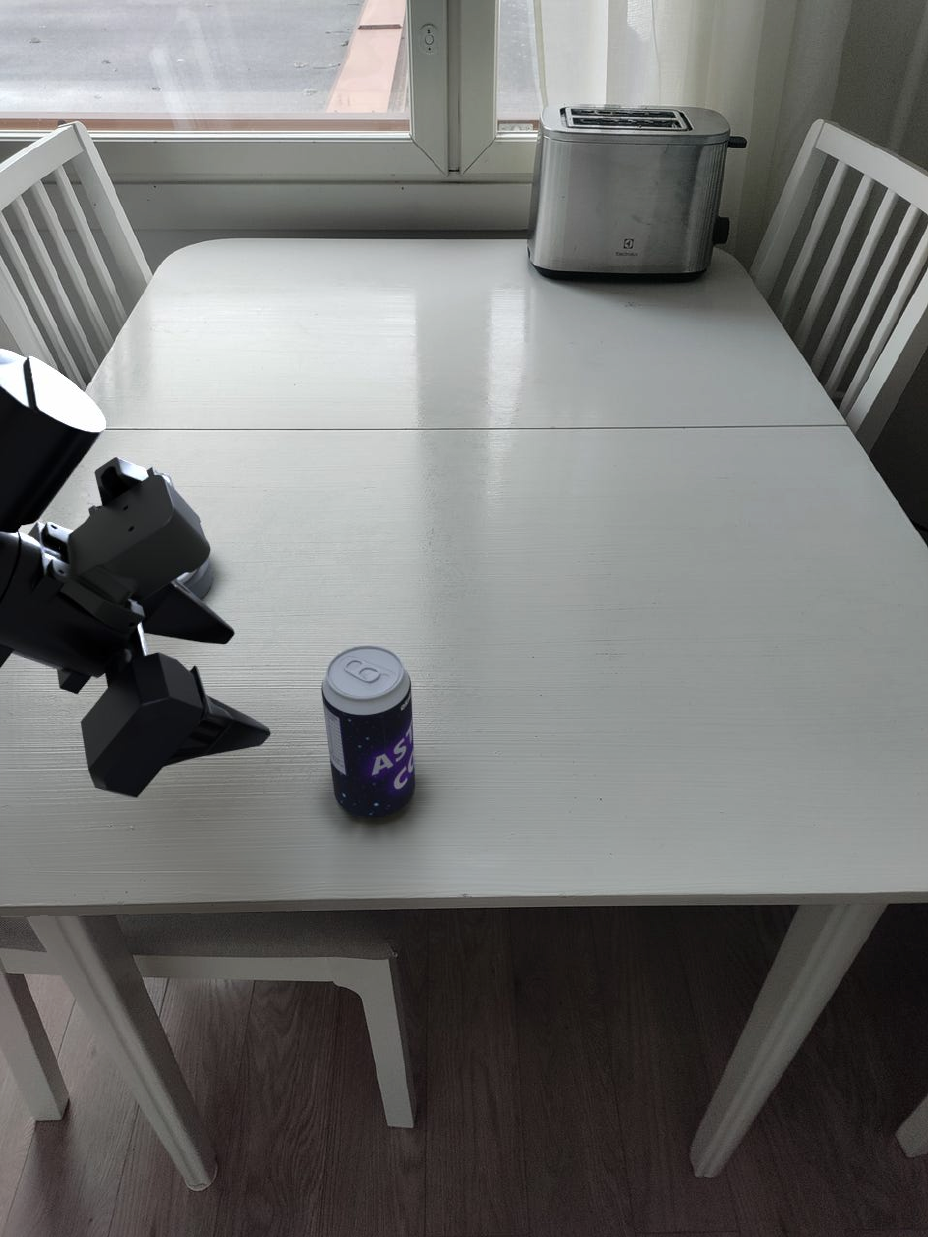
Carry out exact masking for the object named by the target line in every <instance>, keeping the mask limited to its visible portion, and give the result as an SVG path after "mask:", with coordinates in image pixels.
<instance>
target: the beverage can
mask: <svg viewBox="0 0 928 1237" xmlns="http://www.w3.org/2000/svg"><path fill="white" fill-rule="evenodd" d="M320 690H321V700H322V706H323V707H322V708H323V714H324V715H323V716H324V722H325V723H324V724H325V731H326V738H327V739H326V740H327V747H328V748H327V749H328V755H329V762H330V772H331V780H332V786H333V787H332V788H333V794H334V798H335V800H336V802H337V804H338V805H339V807H341V808H342V809H343V810H344V811H345V812H347V813H348V814H350V815H352V816H354V817H357V818H362V819H370V820H371V819H373V820H375V819H381V818H386V817H390V816H393V815H395V814H397V813H398V812H399V811H401V810H402V809H404V808H405V807H406V806H407V805H408V804H409V803H410V802H411V800H412V798H413V796H414V794H415V790H416V769H415V768H416V767H415V748H414V747H415V746H414V745H415V744H414V721H413V697H412V696H413V695H412V679H411V677H410V674H409V672H408V671H407V670H406V668H405V665H404V662H403V661H402V659H401V657H400V656H398V654H397V653H395V652H394V651H393V650H390V649H388V648H386V647H385V646H379V645H372V644H362V645H356V646H352V647H348V648H346V649H344V650H342V651H340V652H339V653H337V654H336V655H335V656H333V657H332V658H331V660H330V661H329V662H328V664H327V666H326V670H325V675H324V678H323V679H322V682H321V689H320Z"/></svg>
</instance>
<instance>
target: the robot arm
mask: <svg viewBox="0 0 928 1237" xmlns="http://www.w3.org/2000/svg"><path fill="white" fill-rule="evenodd" d="M106 427H107V421H106V417H105V416H104V414H103V412H102V411H101V410H100V408H99V407H98V406H97V405H96V403H95V402H94V401H93V399H91V398H90V397H89V396H88V395H87V394H86V393H85V392H84V390H82V389H80V387H78V385H76V383H74V382H72V381H71V380H70V379H69V378H67V377H66V376H64V375H63V374H62V373H60V372H59V371H58V370H56V369H55V368H53V367H51V366H49V365H48V364H47V363H45V362H43V361H41V360H40V359H38V358H36V357H34V356H31V355H28V356H27V357H25V356H22V355H19V354H17V353H16V352H13V351H9V350H6V349H2V348H0V669H1V668H2V667H3V666H4V664H5V663H6V661H7V660H8V659H9V658H10V656H11V655H15V656H17V657H21V658H24V659H26V660H29V661H32V662H35V663H38V664H39V665H40V664H41V665H43V666H47V667H49V668H52V669H54V670H56V673H57V681H58V688H59V689H61V690H62V691H66V692H69V693H72V694H75V695H79V693H80V692H81V691H82V689H84V687H85V686H86V684H87V683H88V682H89V681H90V679H92V677H93V678H95V679H99V678H101V677H102V676H103V675H104V676H105V681H106V685H107V687H106V689H105V691H104V692H103V693H102V694H101V696H100V697H99V698H98V699H97V700H96V702H95V703H94V704H93V706H92V707H91V708H90V709H89V711H88V712H87V713H86V714H85V716H84V717H83V718H82V719H81V721H80V726H81V727H80V728H81V733H82V734H81V735H82V740H83V747H84V752H85V753H84V754H85V759H86V765H87V766H86V767H87V771H88V774H89V776H90V779H91V781H92V784H93V787H94V789H97V790H98V789H99V790H101V791H105V792H109V793H112V794H116V795H120V796H123V797H128V798H135V799H136V798H137V799H138V797H139V796H140V795H141V794H142V793H143V792H144V790H145V789H146V788H147V787H148V786H149V784H151V783H152V781H153V780H154V779H155V778H156V776H157V775H158V774H159V773H160V772H161V770H162V769H163V768H166V767H169V766H172V765H175V764H178V763H179V764H180V763H182V762H185V761H190V760H193V759H194V760H195V759H198V758H203V757H208V756H214V755H220V754H225V753H228V752H229V753H230V752H234V751H235V752H236V751H240V750H245V749H250V748H256V747H260V746H262V745H263V744H264V743H265V742H266V741H267V740H268V739H269V737H270V736H271V734H272V733H271V730H270V728H269V727H268V726H266V725H264V724H263V723H261V722H260V721H258V720H257V719H255V718H253V717H252V716H249V715H248V714H246V713H243V712H242V711H239V710H238V709H235V708H234V707H231V706H230V705H227V704H226V703H224V702H222V701H219V700H218V699H216V698H215V697H212V696H210V695H208V694H206V690H205V687H204V683H203V680H202V677H201V673H200V670H199V668H198V666H197V665H193V666H192V667H191V669H190V670H189V669H188V668H187V667H186V666H185V665H184V664H182V662H180V661H179V660H178V659H177V658H174V657H172V656H169V655H167V654H165V653H161V652H159V651H157V652H153V653H150V652H149V648H148V643H147V640H146V636H145V634H147V635H153V636H159V637H165V638H172V639H178V640H183V641H190V642H195V643H201V644H202V643H203V644H212V645H227V644H228V643H229V642H230V641H231V640H232V638H233V637H234V636H235V630H234V628H233V626H232V625H231V624H229V623H227V622H226V621H225V619H224V618H222V617H221V616H220V615H218V614H217V613H216V612H215V611H214V610H213V609H212V608H211V607H210V606H208V605H207V604H206V603H205V602H204V601H203V600H202V599H201V600H200V599H199V598H198V597H197V596H195V595H194V594H193V593H192V592H191V591H190V590H189V589H187V588H186V587H185V586H184V585H183V584H182V583H181V582H180V581H179V580H178V579H177V578H178V577H180V576H181V575H183V574H184V573H191V572H193V571H195V570H196V569H198V568H199V567H201V566H202V565H203V564H204V563H205V562H206V560H207V559H208V557H209V558H210V554H211V545H210V542H209V540H208V539H207V537H206V536H205V533H204V529H203V527H202V524H201V522H202V520H201V518H200V516H199V515H198V513H197V512H195V510H194V509H193V508H192V507H191V505H190V504H189V503H188V502H187V501H186V500H185V499H184V498H183V496H181V494H180V493H179V492H178V491H177V490H176V488H175V486H174V483H173V480H172V477H171V476H170V475H169V474H167V473H165V472H162V473H161V472H160V473H159V472H158V471H157V469H155V468H154V467H153V466H150V467H149V468H148V469H147V468H145V467H143V466H140V465H137V464H135V463H134V462H133V463H132V462H131V461H129V460H126V459H123V458H121V457H119V456H115V457H113V458H111V459H110V460H108V461H107V462H105V463H104V464H102V465H101V466H99V467H98V468H97V469H95V470H94V472H93V474H94V477H95V482H96V486H97V489H98V494H99V498H100V502H101V504H100V505H95V504H93V505H92V506H90V507H88V508H87V511H88V517H87V518H86V520H84V522H83V523H82V524H81V525H79V526H78V527H77V528H75V529H74V530H72V529H68V528H66V527H62V526H60V525H58V524H56V523H53V522H51V521H48V522H46V523H45V524H43V523H41V522H39V520H40V519H41V517H42V516H43V514H45V511H46V510H47V509H48V508H49V506H50V505H51V504H52V502H53V501H54V499H55V498H56V497H57V495H58V494H59V493H60V492H61V490H62V489H63V487H64V486H65V485H66V483H67V481H68V480H69V479H70V477H71V476H72V475H73V473H74V472H75V471H76V469H77V468H78V467H79V465H80V464H81V462H82V461H83V460H84V459H85V457H86V456H87V454H88V453H89V452H90V450H91V449H92V447H93V446H94V445H95V443H96V442H97V441H98V440H99V438H100V436H101V435H102V434H103V432H104V431H105V430H106ZM32 524H34V525H33V527H32V528H31V529H30V530H29V532H28V533H25V532H23V531H20V529H21V528H22V526H28V525H32Z"/></svg>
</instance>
